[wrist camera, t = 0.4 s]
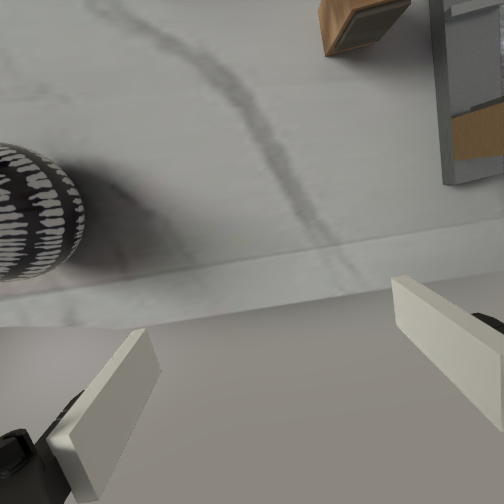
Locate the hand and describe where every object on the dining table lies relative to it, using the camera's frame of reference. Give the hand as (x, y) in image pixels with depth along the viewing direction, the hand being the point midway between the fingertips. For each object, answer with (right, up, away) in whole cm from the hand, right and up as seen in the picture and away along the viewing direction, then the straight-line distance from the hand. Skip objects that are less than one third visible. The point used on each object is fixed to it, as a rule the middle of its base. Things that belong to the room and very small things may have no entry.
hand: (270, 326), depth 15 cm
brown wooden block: (+10, +31, +20) cm, 38 cm away
